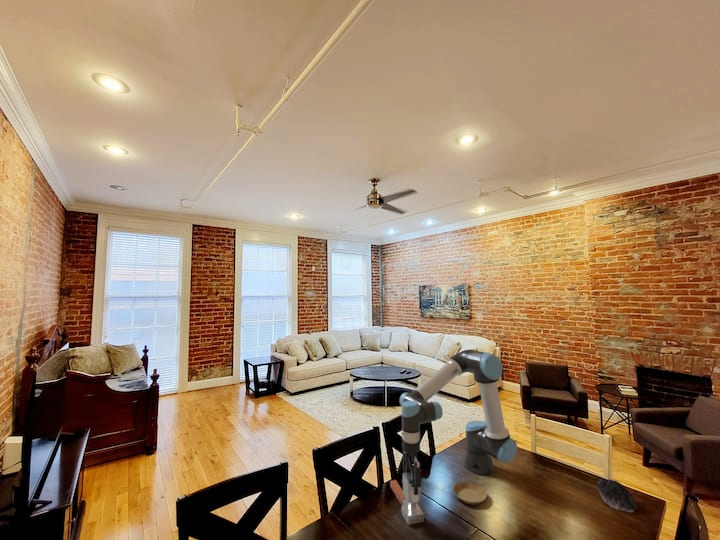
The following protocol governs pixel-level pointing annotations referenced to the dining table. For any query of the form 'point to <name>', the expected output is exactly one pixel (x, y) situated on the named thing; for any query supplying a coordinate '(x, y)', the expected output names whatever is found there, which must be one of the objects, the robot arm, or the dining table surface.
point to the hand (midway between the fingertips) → (411, 496)
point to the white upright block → (409, 487)
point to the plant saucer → (469, 492)
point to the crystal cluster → (616, 495)
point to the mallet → (407, 506)
